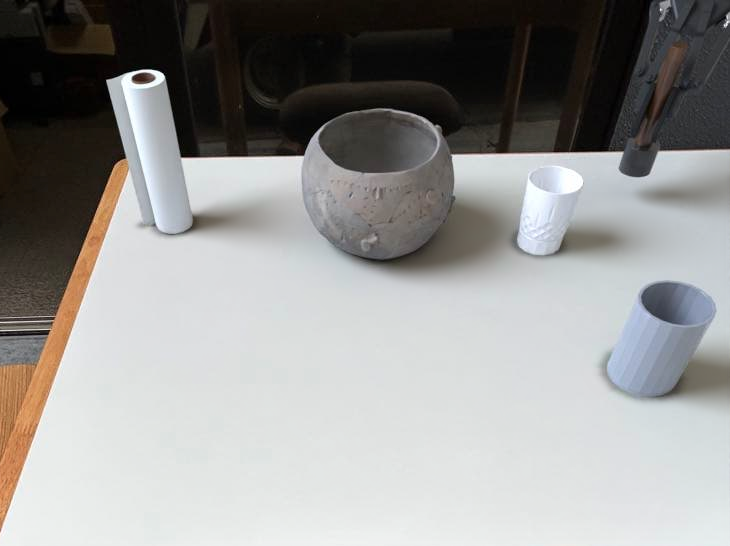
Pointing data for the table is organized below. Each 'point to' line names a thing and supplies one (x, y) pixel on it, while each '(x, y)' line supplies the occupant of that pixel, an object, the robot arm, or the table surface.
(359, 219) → the bowl
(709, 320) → the tumbler
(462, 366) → the table surface
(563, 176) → the white cup
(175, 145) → the paper towel roll
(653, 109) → the brush
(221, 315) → the table surface
